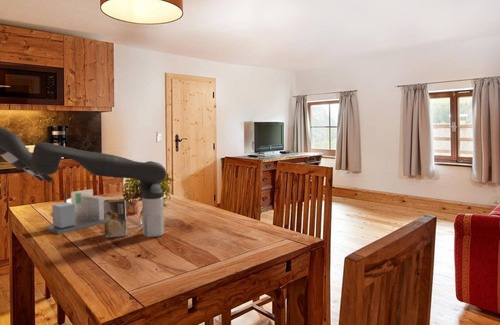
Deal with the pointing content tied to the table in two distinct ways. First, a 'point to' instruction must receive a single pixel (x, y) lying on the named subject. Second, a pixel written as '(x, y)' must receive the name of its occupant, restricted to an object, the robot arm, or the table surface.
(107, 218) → the coffee box
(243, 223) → the table surface
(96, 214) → the stand
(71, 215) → the grey box
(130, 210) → the smoothie
